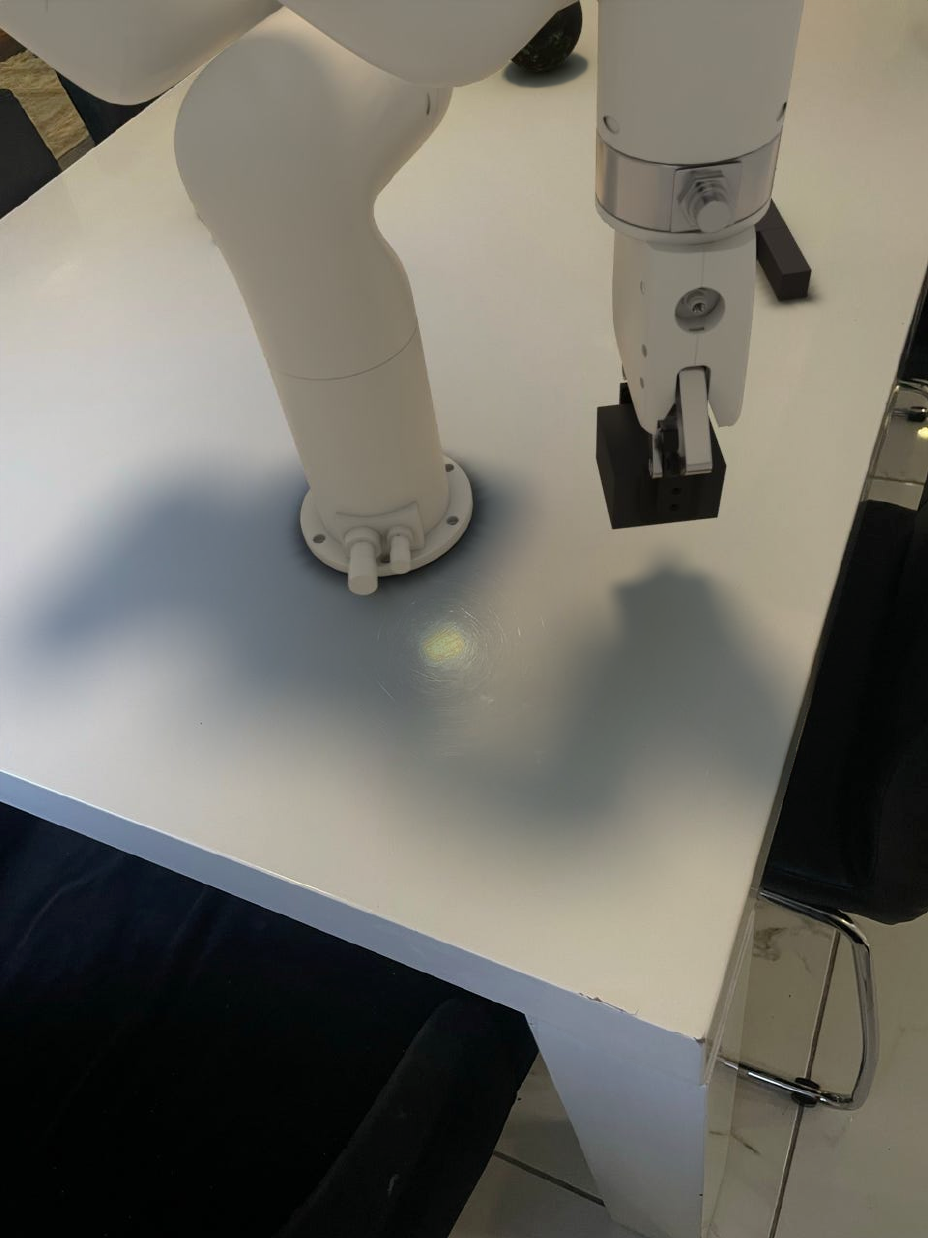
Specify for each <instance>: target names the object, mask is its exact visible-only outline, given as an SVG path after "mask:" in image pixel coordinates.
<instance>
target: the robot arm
mask: <svg viewBox="0 0 928 1238" xmlns="http://www.w3.org/2000/svg"><path fill="white" fill-rule="evenodd" d="M577 1H579V0H0V29H1V30H2V31H3V32H5V33H6V34H7V35H9V36H10V37H11V38H13V39H14V40H15V41H16V42H18V43H19V44H21V46H23V47H25V48H26V49H27V50H28V51H30V52H31V53H32V54H34V55H35V56H36V57H38V58H39V59H40V60H41V61H43V62H44V63H46V64H47V65H48V66H49V67H51V68H52V69H54V70H55V71H56V72H57V73H59V74H60V75H62V76H63V77H64V78H66V79H67V80H69V81H70V82H72V83H73V84H75V85H76V86H78V87H79V88H80V89H82V90H83V91H85V92H87V93H89V94H91V95H92V96H94V97H96V98H97V99H100V100H102V101H105V102H107V103H109V104H115V105H122V106H134V105H135V106H136V105H139V104H142V103H146V102H148V101H150V100H152V99H155V98H156V97H159V96H160V95H162V94H164V93H165V92H166V91H168V90H169V89H172V87H173V88H174V86H176V85H177V84H178V83H180V82H181V81H183V80H184V79H185V78H187V77H188V76H190V75H191V74H192V73H194V72H195V71H196V70H198V69H199V68H201V67H202V66H203V65H205V64H206V63H207V62H209V61H210V62H209V63H208V64H206V65H205V66H204V68H203V69H202V70H201V71H200V72H199V74H198V75H197V76H196V78H195V79H194V80H193V81H192V83H191V84H190V86H189V88H188V90H187V91H186V93H185V95H184V97H183V99H182V101H181V103H180V106H179V108H178V112H177V115H176V119H175V126H174V132H173V151H174V156H175V164H176V167H177V170H178V175H179V177H180V180H181V183H182V185H183V187H184V189H185V191H186V193H187V196H188V198H189V200H190V202H191V203H192V205H193V207H194V209H195V211H196V212H197V215H199V217H200V219H201V221H202V222H203V224H204V225H205V227H206V230H207V231H208V233H209V234H210V236H211V237H212V239H213V241H214V242H215V244H216V246H217V248H218V250H219V251H220V253H221V255H222V257H223V259H224V260H225V263H226V264H227V267H228V269H229V271H230V273H231V275H232V276H233V279H234V281H235V283H236V285H237V288H238V290H239V293H240V295H241V298H242V299H243V302H244V304H245V307H246V309H247V312H248V315H249V318H250V321H251V323H252V326H253V328H254V332H255V334H256V337H257V340H258V344H259V347H260V349H261V351H262V354H263V357H264V360H265V362H266V365H267V368H268V370H269V373H270V377H271V379H272V381H273V386H274V388H275V391H276V393H277V396H278V400H279V402H280V405H281V408H282V411H283V413H284V416H285V419H286V422H287V426H288V428H289V431H290V433H291V436H292V439H293V442H294V446H295V449H296V452H297V454H298V457H299V459H300V463H301V466H302V469H303V471H304V475H305V477H306V480H307V483H308V486H309V489H308V491H307V492H306V494H305V496H304V498H303V501H302V503H301V504H302V505H301V508H300V517H299V523H300V528H301V531H302V532H301V533H302V535H303V538H304V540H305V543H306V545H307V547H308V548H309V549H310V551H311V552H312V554H313V555H314V556H315V557H316V558H317V559H318V560H320V562H322V564H325V565H326V566H328V567H330V568H332V569H333V570H336V571H338V572H342V573H346V574H347V588H348V589H349V591H350V592H351V593H353V594H355V595H359V596H368V595H370V594H373V593H375V592H376V590H377V589H378V577H389V576H394V575H403V574H407V573H409V572H410V571H413V570H416V569H419V568H421V567H424V566H426V565H427V564H429V563H431V562H433V561H435V560H437V559H438V558H439V557H441V556H442V555H444V554H445V553H447V552H448V551H449V550H450V549H451V548H452V547H454V545H456V543H458V541H459V540H460V538H462V536H463V534H464V533H465V532H466V530H467V528H468V526H469V523H470V521H471V519H472V515H473V509H474V501H473V500H474V499H473V493H472V488H471V487H472V486H471V484H470V480H469V478H468V476H467V474H466V473H465V472H464V469H463V468H462V467H461V466H459V464H458V463H457V462H456V461H455V460H453V459H451V458H450V457H448V455H445V454H444V453H443V449H442V442H441V437H440V432H439V426H438V421H437V417H436V416H437V415H436V411H435V405H434V399H433V394H432V389H431V388H432V387H431V385H430V384H431V382H430V379H429V374H428V373H429V372H428V368H427V362H426V357H425V351H424V348H423V346H424V345H423V341H422V336H421V335H422V334H421V330H420V324H419V319H418V315H417V310H416V306H415V300H414V295H413V291H412V286H411V282H410V280H409V276H408V273H407V271H406V268H405V266H404V264H403V262H402V260H401V258H400V256H399V255H398V254H397V252H396V251H395V250H394V248H393V247H392V246H391V244H390V243H389V242H388V241H387V239H386V238H385V237H384V236H383V234H382V233H381V231H380V229H379V226H378V225H377V222H376V217H375V204H376V201H377V198H378V196H379V195H380V193H381V192H382V191H383V190H384V189H385V188H386V187H387V185H388V184H389V183H390V182H392V179H393V178H394V177H395V175H396V174H398V172H399V171H400V170H401V169H402V168H403V167H404V166H405V165H406V164H407V162H409V160H411V159H412V157H414V155H415V154H416V153H417V152H418V151H419V150H420V149H421V148H422V146H423V145H424V144H425V143H426V142H427V141H428V139H429V138H431V136H432V134H433V133H434V132H435V131H436V130H437V129H438V127H439V125H440V124H441V122H442V121H443V119H444V117H445V115H446V114H447V111H448V109H449V106H450V103H451V100H452V97H453V92H454V88H463V87H465V86H469V85H472V84H475V83H477V82H481V81H483V80H485V79H488V78H489V77H491V76H493V75H494V74H495V73H497V72H498V71H500V70H501V69H503V68H504V67H505V66H507V64H508V63H509V62H510V61H511V59H512V58H513V57H514V56H515V55H516V54H517V53H518V52H519V51H520V50H521V49H522V48H523V47H524V46H525V45H526V44H527V43H528V42H529V41H530V40H531V39H532V38H533V37H534V36H535V35H536V34H537V32H538V31H539V30H540V29H541V28H542V27H543V26H544V25H545V24H546V23H547V22H548V21H549V20H550V18H551V17H552V16H553V15H554V14H555V13H556V12H557V11H559V10H561V9H563V8H565V7H567V6H569V5H571V4H573V3H575V2H577ZM596 2H597V4H598V5H597V53H596V54H597V55H596V56H597V58H596V59H597V61H596V62H597V63H596V65H597V66H596V68H597V69H596V117H595V118H596V120H595V121H596V128H595V178H594V179H595V180H594V182H595V184H594V207H595V210H596V211H597V214H598V216H599V217H600V218H601V220H602V221H603V222H604V223H606V225H608V226H609V227H610V228H611V229H613V230H614V239H613V254H612V276H611V277H612V279H611V280H612V281H611V283H612V285H611V288H612V289H611V306H612V307H611V308H612V309H611V310H612V324H613V331H614V338H615V342H616V345H617V349H618V354H619V358H620V361H621V376H622V379H623V381H625V382H619V394H618V395H619V398H618V404H627V403H633V404H634V407H635V411H636V414H637V417H638V420H639V423H640V425H641V426H642V427H643V428H644V429H645V430H646V431H647V432H648V457H649V463H647V464H643V465H642V473H641V486H640V500H639V517H640V521H641V522H642V523H655V522H663V521H672V520H681V519H689V518H693V517H695V516H697V514H698V511H699V505H700V498H701V491H702V484H703V477H704V473H709V472H711V471H712V453H711V441H710V428H709V417H710V415H708V414H709V406H710V409H711V411H712V414H713V417H714V419H715V421H716V424H717V426H718V427H717V428H724V427H734V425H735V424H737V422H738V421H739V419H740V417H741V415H742V410H743V402H744V396H745V395H744V394H745V388H746V380H747V372H748V362H749V354H750V345H751V337H752V328H753V319H754V306H755V295H756V294H755V293H756V273H757V270H756V269H757V257H756V233H755V227H754V224H756V223H757V222H758V221H759V220H760V219H761V218H762V217H763V216H764V215H765V214H766V212H767V210H768V208H769V205H770V201H771V198H772V195H773V188H774V182H775V176H776V171H777V165H778V160H779V153H780V147H781V142H782V135H783V130H784V123H785V118H786V113H787V106H788V105H787V104H788V99H789V94H790V90H791V89H790V88H791V82H792V77H793V70H794V66H795V65H794V64H795V58H796V53H797V46H798V39H799V35H800V28H801V23H802V16H803V12H804V11H803V10H804V5H805V0H596ZM673 404H676V412H670V413H668V412H669V411H670V409H671V408H672V406H673ZM676 430H678V436H679V449H678V451H673V452H667V453H664V454H663V432H667V431H676Z"/></svg>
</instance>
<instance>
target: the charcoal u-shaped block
mask: <svg viewBox="0 0 928 1238" xmlns="http://www.w3.org/2000/svg"><path fill="white" fill-rule="evenodd" d="M754 227H755V233H756V259H757V260H758V262H759V265H760V267H761V268H762V271H763V272H764V274H765V276H766V279H767V280H768V283H769V284H770V286H771V288H772V290H773V292H774V295H775V297H776V298H777V300H778V301H787V300H795V299H801V298H807V297H808V293H809V287H810V281H811V276H812V271H813V269H812V268H811V267H810V264H809V263H808V261H807V259H806V258H805V255H804V254H803V252H802V250H801V248H800V246H799V245H798V243H797V241H796V240H795V237H794V236H793V233H792V232H791V230H790V228H789V226H788V225H787V223H786V221H785V220H784V218H783V216H782V214H781V213H780V211H779V208H778V207H777V205H776V203H775V202H774V200H773V198H772V197H771V201H770V205H769V208H768V210H767V212H766V214H765V215H764V216H763V217H762V218H761V219H760V220H759V221H758V222H757V223H756V224H754Z"/></svg>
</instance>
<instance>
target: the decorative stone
mask: <svg viewBox="0 0 928 1238" xmlns="http://www.w3.org/2000/svg"><path fill="white" fill-rule="evenodd" d="M581 5H582V4H581V0H579V1H577V2H575V3H573V4H571V5H569V6H567V7H565V8H563V9H561V10H559V11H557V12H556V13H555V14H554V15H553V16H552V17H551V18H550V20H549V21H548V22H547V23H546V24H545V25H544V26H543V27H542V28H541V29H540V30H539V31H538V32H537V34H536V35H535V36H534V37H533V38H532V39H531V40H530V41H529V42H528V43H527V44H526V45H525V46H524V47H523V48H522V49H521V50H520V51H519V52H518V53H517V54H516V55H515V56H514V57H513V58H512V59H511V60H510V61H511V62H512V63H513V64H514V65H516V66H517V67H518V68H520V69H523V70H524V71H527V72H532V73H533V72H534V73H543V72H548V71H550V70H553V69H554V68H557V67H559V66H560V65H562V64H563V63H564V62H565V61H566V60H567V59H568V58H569V57H570V55H572V53H573V52H574V50H575V48H576V46H577V44H578V43H579V39H580V37H581V34H582V29H583V9H582V6H581Z"/></svg>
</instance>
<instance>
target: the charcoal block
mask: <svg viewBox="0 0 928 1238" xmlns="http://www.w3.org/2000/svg"><path fill="white" fill-rule="evenodd" d="M670 412H676V404H673V406H672V408H671V409H670V411H669V412H668V413H670ZM708 415H709V413H708ZM709 428H710V441H711V453H712V471H711V472H709V473H704V477H703V484H702V491H701V498H700V505H699V511H698V514H697V516H695V517H693V518H689V519H681V520H672V521H663V522H655V523H642V522H641V521H640V517H639V500H640V486H641V473H642V465H643V464H647V463H649V457H648V432H647V431H646V430H645V429H644V428H643V427H642V426H641V425H640V423H639V420H638V417H637V414H636V411H635V407H634V404H633V403H627V404H619V403H618V404H617V403H616V404H611V405H601V406H597V407H596V431H595V432H596V435H595V436H596V437H595V461H596V465H597V469H598V474H599V478H600V482H601V487H602V492H603V496H604V500H605V505H606V509H607V513H608V517H609V522H610V527H611V529H612V530H619V529H620V530H621V529H630V528H638V527H639V528H640V527H647V526H657V525H664V524H673V523H674V524H675V523H683V522H691V521H700V520H701V521H702V520H707V519H708V520H709V519H716V518H717V519H718V517H719V513H720V512H719V511H720V507H721V500H722V496H723V495H722V494H723V489H724V483H725V478H726V472H727V466H728V465H727V463H726V460H725V457H724V454H723V451H722V448H721V446H720V443H719V439H718V436H717V434H716V431H715V429H714V426H713V423H712V421H711V417H710V415H709ZM678 449H679V436H678V430H676V431H667V432H663V454H664V453H667V452H673V451H678Z"/></svg>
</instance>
